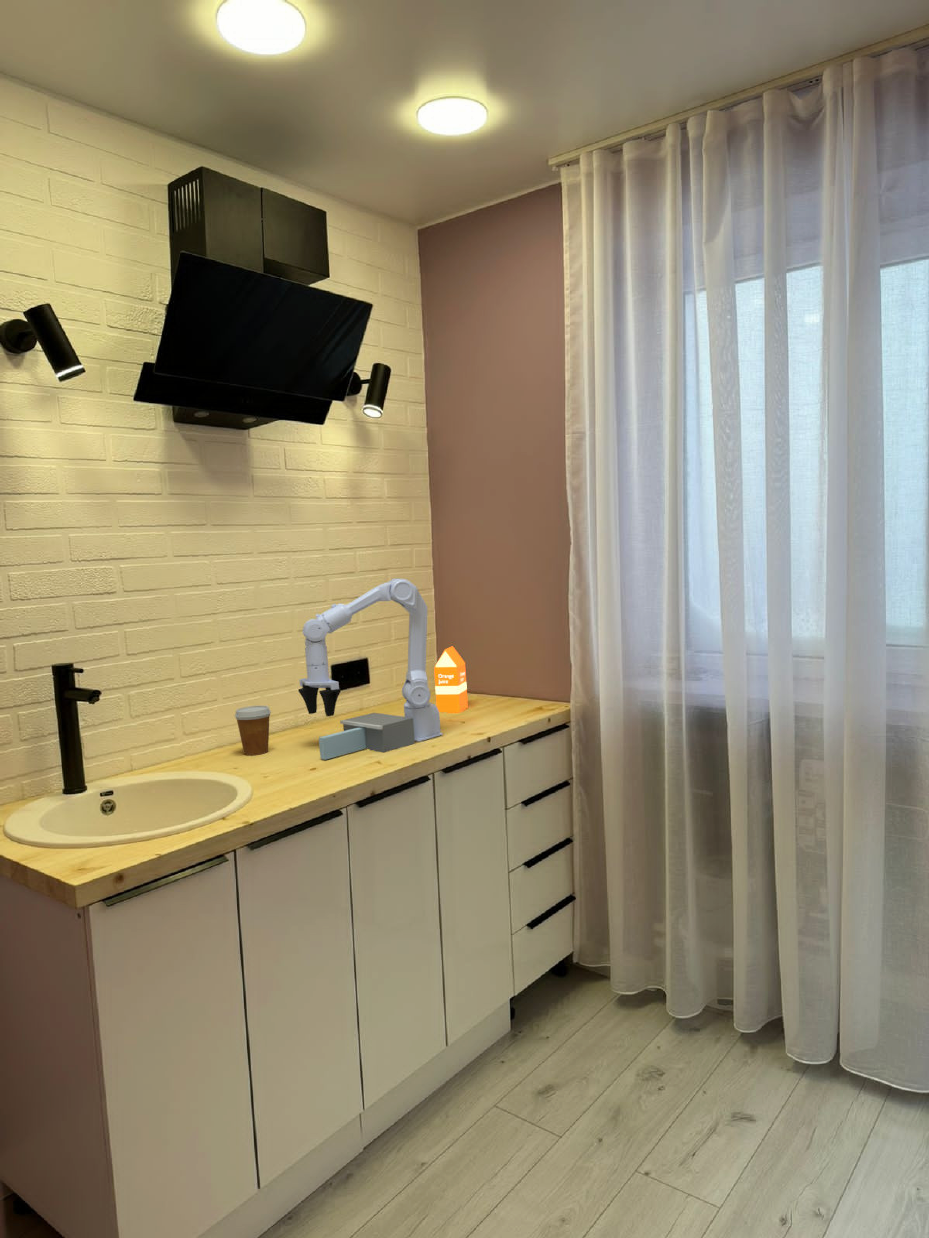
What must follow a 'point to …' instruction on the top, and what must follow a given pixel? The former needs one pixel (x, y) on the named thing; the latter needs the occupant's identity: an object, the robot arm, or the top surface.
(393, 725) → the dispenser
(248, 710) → the disposable coffee cup
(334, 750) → the light blue rectangular block
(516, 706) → the top surface
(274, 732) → the top surface
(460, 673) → the orange juice
